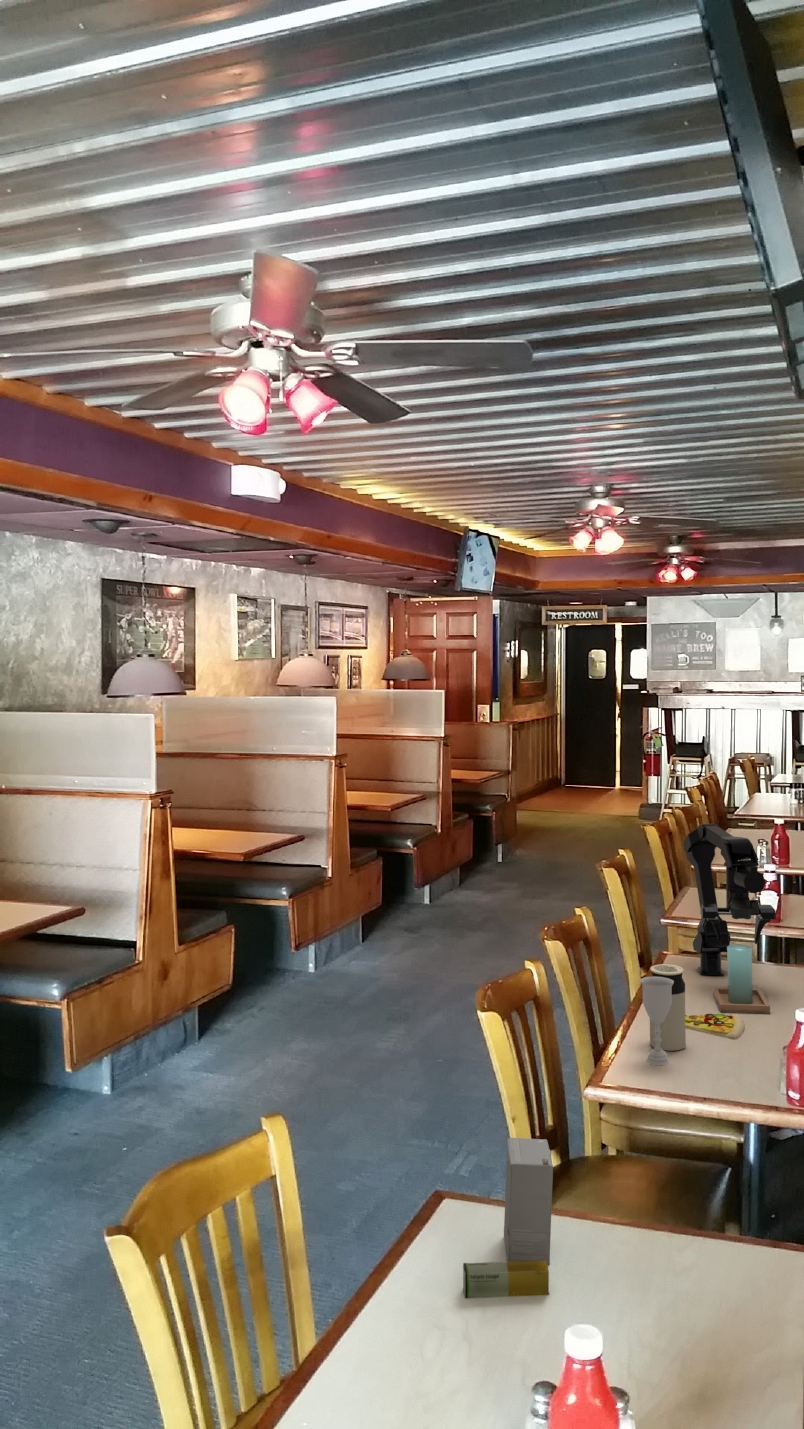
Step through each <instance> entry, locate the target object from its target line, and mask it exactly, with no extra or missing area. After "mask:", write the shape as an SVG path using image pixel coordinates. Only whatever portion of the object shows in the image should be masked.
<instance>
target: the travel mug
mask: <svg viewBox="0 0 804 1429" xmlns="http://www.w3.org/2000/svg"><path fill="white" fill-rule="evenodd" d="M649 969H650V972H651V977H664V978H669V979H671V980H673V981H674V983H673V985H672V1004H671V1007H670V1010H669V1013H668V1014H667V1016H666V1018H665V1020H664V1022H662V1023H660V1030H661V1033H660V1038H661V1039H662V1041H660V1048H661V1049H662V1050H664V1051H665V1052H676V1051H680V1050H682V1049H684V1048H685V1047H686V1041H687V1040H686V1038H687V1036H686V1035H687V1034H686V1028H685V1015H686V983H685V981H684V978H683V973H684V971H685V970H684V968H683V967H681V966H679V965H674V964H669V963H668V964H666V963H665V964H664V963H663V964H660V963H659V964H656V965H652V966H651V967H650V968H649ZM654 1030H655V1023H654V1022H652V1021H651V1020H650V1019H649V1045H651V1047H653V1048H655V1045H656V1044H655V1041H654V1040H653V1039H654V1038H655V1032H654Z"/></svg>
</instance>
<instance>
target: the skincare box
mask: <svg viewBox="0 0 804 1429" xmlns="http://www.w3.org/2000/svg"><path fill="white" fill-rule="evenodd" d="M506 1140H507V1141H506V1144H507V1145H506V1167H505V1168H506V1169H505V1194H504V1195H505V1196H504V1197H505V1198H504V1218H503V1219H504V1221H503V1223H504V1224H503V1244H504V1250H505V1251H504V1252H505V1257H506V1262H518V1261H546V1263H547V1265H548V1266H550V1264H551V1263H550V1261H551V1257H550V1256H551V1233H552V1232H551V1231H552V1230H551V1229H552V1204H553V1182H554V1181H553V1180H554V1179H553V1178H554V1165H553V1161H552V1157H551V1155H552V1151H551V1149H550V1146H549V1143H548V1142H549V1141H548V1140H547V1139H546V1138H544V1139H543V1138H542V1139H540V1138H524V1137H523V1138H522V1137H521V1138H520V1137H509V1138H507V1139H506Z"/></svg>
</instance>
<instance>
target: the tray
mask: <svg viewBox="0 0 804 1429" xmlns="http://www.w3.org/2000/svg"><path fill="white" fill-rule="evenodd" d="M712 991H713V992H712V995H713V998H714V1001H715V1003H716V1005H718V1006H717V1008H718V1010H719V1012H720V1014H755V1015H758V1014H759V1015H770V1014H771V1005H770V1004H769V1001H768V1000H767V999H766V998H767V997H766V996H765V995H764V993H763V991H762V990H761V989H760V988H753V1003H751V1004H733V1003H730V1002H729V1001H728V987H712Z"/></svg>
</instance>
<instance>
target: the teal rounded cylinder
mask: <svg viewBox="0 0 804 1429" xmlns="http://www.w3.org/2000/svg"><path fill="white" fill-rule="evenodd" d="M752 950H753V947H751V946H750V945H747V944H742V943H741V944H739V943H736V944H734V943H733V944H729V946H727V952H726V955H727V956H726V959H727V960H726V961H727V988H728V1001H729V1002H730V1003H733V1004H751V1003H753V989H754V987H753V953H752V952H753V951H752Z"/></svg>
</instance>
